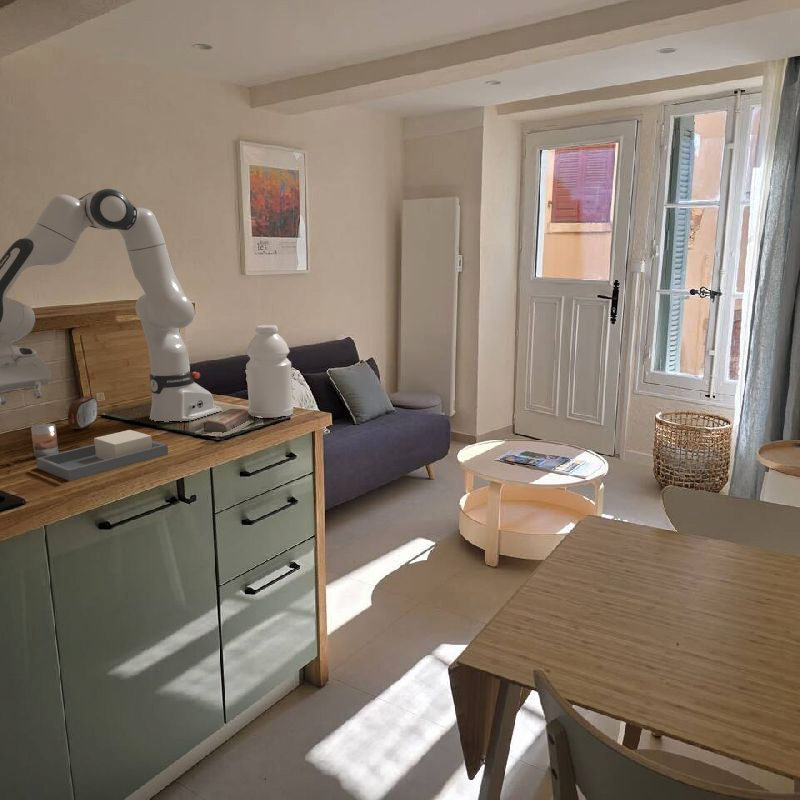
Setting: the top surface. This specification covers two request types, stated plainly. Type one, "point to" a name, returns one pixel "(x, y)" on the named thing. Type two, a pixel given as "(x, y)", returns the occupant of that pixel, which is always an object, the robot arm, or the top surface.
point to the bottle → (269, 374)
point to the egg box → (121, 444)
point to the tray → (93, 461)
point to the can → (44, 440)
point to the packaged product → (224, 421)
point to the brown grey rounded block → (82, 412)
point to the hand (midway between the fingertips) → (21, 400)
